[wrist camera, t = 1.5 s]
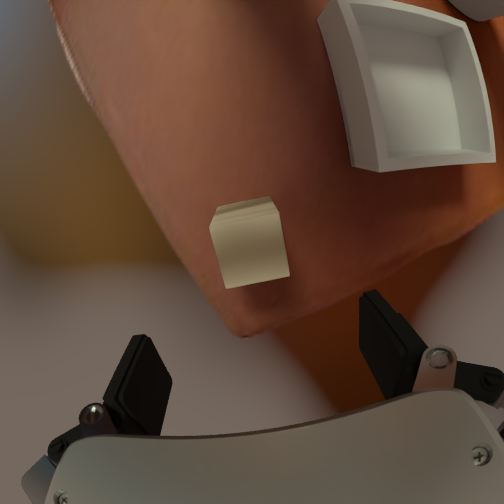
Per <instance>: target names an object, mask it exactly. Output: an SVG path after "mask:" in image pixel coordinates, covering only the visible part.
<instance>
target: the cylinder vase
mask: <svg viewBox="0 0 504 504" xmlns="http://www.w3.org/2000/svg"><path fill="white" fill-rule="evenodd" d="M448 1H449V2H450V3H451V4H452V5H453V6H454V7H456V8H457V9H458V10H459V11H460V12H462V13H463V14H464V15H466V16H467V17H469V18H471V19H473V20H476V21H486V20H490V19H493V18H497V17H500V16H504V0H448Z"/></svg>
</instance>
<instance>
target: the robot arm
mask: <svg viewBox="0 0 504 504" xmlns="http://www.w3.org/2000/svg"><path fill="white" fill-rule="evenodd" d="M359 347H360V350H361V352H362V354H363V356H364V358H365V360H366V362H367V364H368V366H369V368H370V370H371V372H372V374H373V376H374V378H375V380H376V381H377V384H378V386H379V388H380V390H381V391H382V394H383V395H384V398H385V401H382V402H379V403H376V404H373V405H369V406H366V407H363V408H360V409H357V410H353V411H349V412H345V413H342V414H338V415H334V416H331V417H327V418H322V419H318V420H314V421H309V422H305V423H300V424H295V425H290V426H285V427H278V428H272V429H265V430H258V431H250V432H241V433H231V434H219V435H201V436H160V433H161V429H162V425H163V421H164V416H165V412H166V408H167V404H168V400H169V395H170V391H171V387H172V378H171V376H170V374H169V372H168V371H167V369H166V367H165V365H164V363H163V361H162V359H161V358H160V356H159V354H158V352H157V350H156V348H155V346H154V344H153V342H152V340H151V338H150V337H147V336H146V335H145V334H142V335H134V336H133V337H132V338H131V340H130V342H129V345H128V346H127V348H126V350H125V352H124V354H123V356H122V358H121V360H120V363H119V364H118V366H117V368H116V371H115V372H114V375H113V377H112V379H111V381H110V383H109V385H108V387H107V389H106V392H105V394H104V396H103V400H104V402H103V404H101V403H92V404H89V405H87V406H86V407H84V408H83V409H82V411H81V412H80V415H79V423H80V424H79V425H77V426H76V427H74V428H73V429H71V430H69V431H67V432H66V433H64V434H62V435H60V436H59V437H57V438H55V439H54V440H52V442H51V443H50V444H49V446H48V456H46V455H44V456H43V457H41V458H40V460H38V461H37V462H36V463H35V464H34V465H33V466H32V467H31V468H30V469H29V470H28V471H27V472H26V473H25V474H24V475H23V477H22V480H21V485H22V488H23V489H24V491H25V493H26V494H27V496H28V498H29V499H30V501H31V502H32V504H504V373H503V372H502V371H501V370H499V369H497V368H494V367H488V366H482V365H476V364H471V363H465V362H460V361H457V356H456V354H455V352H454V351H453V350H452V349H451V348H449V347H447V346H444V345H435V346H431V347H429V348H428V346H427V345H426V344H425V343H424V341H423V340H422V339H421V338H420V336H419V335H418V334H417V333H416V332H415V330H414V329H413V328H412V327H411V325H410V324H409V323H408V322H407V321H406V319H405V318H404V317H403V316H402V315H401V314H400V313H396V312H395V311H394V310H393V308H392V307H391V306H390V305H389V304H388V303H387V301H386V300H385V299H384V298H383V297H382V296H381V294H380V293H379V292H378V291H377V290H376V289H374V290H370V291H367V292H364V293H363V296H361V297H360V298H359Z"/></svg>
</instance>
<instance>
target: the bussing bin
mask: <svg viewBox="0 0 504 504" xmlns="http://www.w3.org/2000/svg"><path fill="white" fill-rule="evenodd" d="M317 22H318V25H319V28H320V31H321V34H322V37H323V40H324V44H325V47H326V50H327V54H328V57H329V61H330V64H331V68H332V72H333V76H334V80H335V84H336V88H337V92H338V97H339V101H340V106H341V110H342V115H343V120H344V125H345V131H346V136H347V142H348V148H349V154H350V161H351V166H352V167H357V168H362V169H366V170H371V171H375V172H379V173H380V172H388V171H396V170H404V169H413V168H423V167H433V166H445V165H457V164H472V163H491V162H496V153H495V141H494V132H493V124H492V117H491V111H490V105H489V100H488V95H487V90H486V86H485V81H484V77H483V74H482V70H481V66H480V63H479V59H478V56H477V53H476V50H475V47H474V44H473V41H472V38H471V35H470V33H469V30H468V27H467V25H466V22H463V21H461V20H458V19H456V18H453V17H450V16H447V15H444V14H441V13H438V12H435V11H432V10H428V9H425V8H421V7H417V6H413V5H409V4H405V3H401V2H396V1H391V0H329V2H328V3H327V5H326V6H325V8H324V9H323V11H322V13H321V14H320V16H319V17H318V19H317Z"/></svg>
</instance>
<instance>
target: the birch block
mask: <svg viewBox="0 0 504 504" xmlns="http://www.w3.org/2000/svg"><path fill="white" fill-rule="evenodd" d="M209 229H210V233H211V237H212V241H213V244H214V248H215V252H216V255H217V259H218V263H219V266H220V270H221V273H222V277H223V280H224V284H225V287H226V289H228V288H233V287H238V286H243V285H248V284H253V283H258V282H263V281H268V280H273V279H278V278H283V277H288V276H290V273H289V267H288V261H287V255H286V249H285V244H284V238H283V232H282V227H281V221H280V216H279V212H278V210H277V208H276V207H275V205H274V203H273V201H272V200H271V198H270V196H267V197H262V198H257V199H252V200H247V201H242V202H238V203H233V204H229V205H224V206H220V207H217V210H216V212H215V214H214V217H213V219H212V222H211V224H210V227H209Z"/></svg>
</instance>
